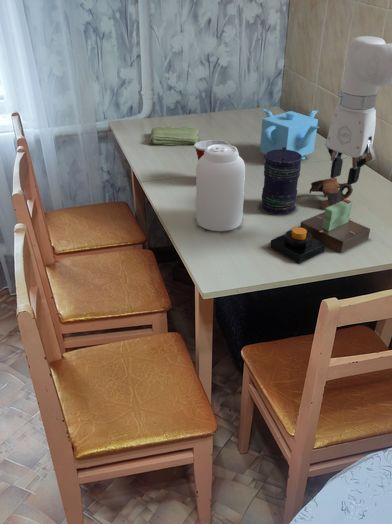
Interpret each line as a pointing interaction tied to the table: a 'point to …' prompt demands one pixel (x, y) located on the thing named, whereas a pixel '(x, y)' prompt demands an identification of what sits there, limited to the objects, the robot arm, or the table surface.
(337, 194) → the pottery mug
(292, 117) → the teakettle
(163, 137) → the washcloth
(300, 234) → the button
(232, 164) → the can
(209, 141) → the plastic cup
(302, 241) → the button block
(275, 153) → the storage jar
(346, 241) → the base
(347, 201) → the pale green flat block
